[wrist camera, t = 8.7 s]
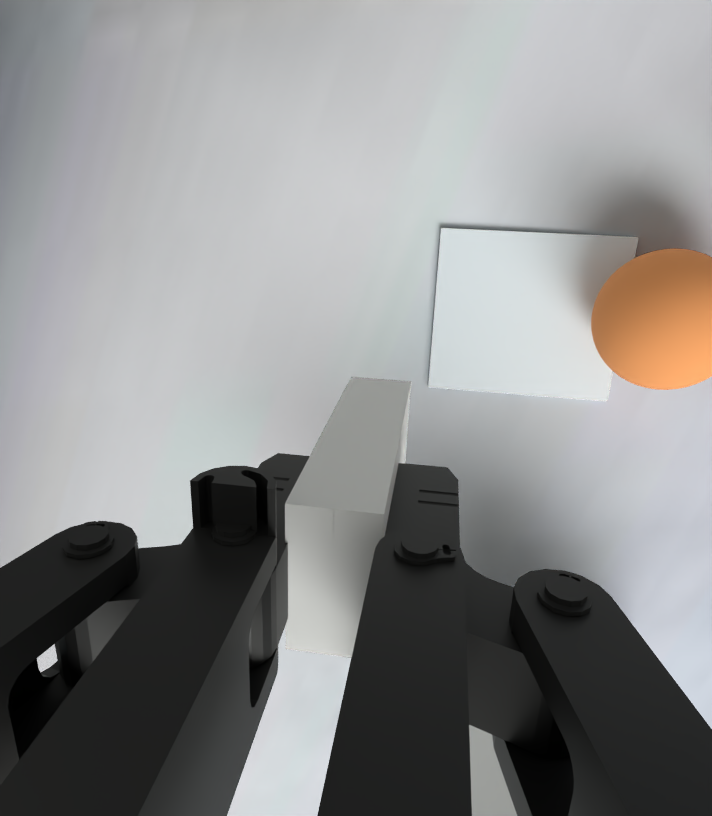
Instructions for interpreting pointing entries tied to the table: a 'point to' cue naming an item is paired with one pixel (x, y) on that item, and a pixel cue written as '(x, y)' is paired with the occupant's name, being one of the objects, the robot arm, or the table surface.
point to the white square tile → (522, 312)
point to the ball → (657, 319)
